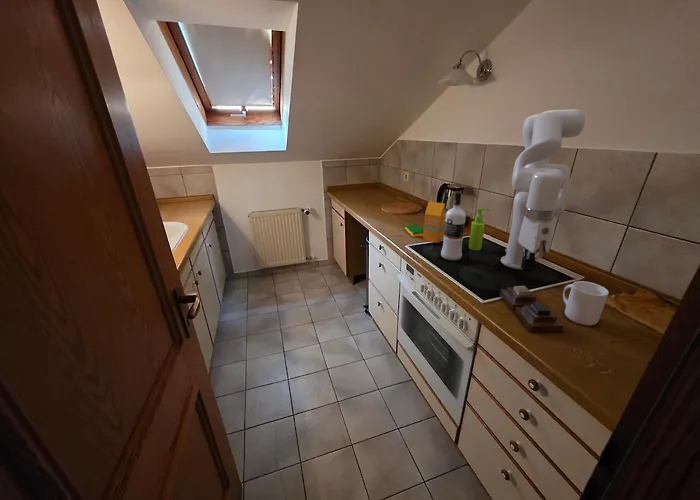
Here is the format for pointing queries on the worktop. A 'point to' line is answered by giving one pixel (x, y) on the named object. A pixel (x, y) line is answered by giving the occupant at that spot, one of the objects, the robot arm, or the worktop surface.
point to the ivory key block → (517, 298)
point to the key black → (540, 309)
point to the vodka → (454, 231)
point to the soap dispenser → (477, 231)
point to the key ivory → (521, 290)
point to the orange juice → (434, 222)
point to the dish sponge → (414, 230)
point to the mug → (585, 302)
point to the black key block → (538, 320)
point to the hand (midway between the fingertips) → (526, 268)
